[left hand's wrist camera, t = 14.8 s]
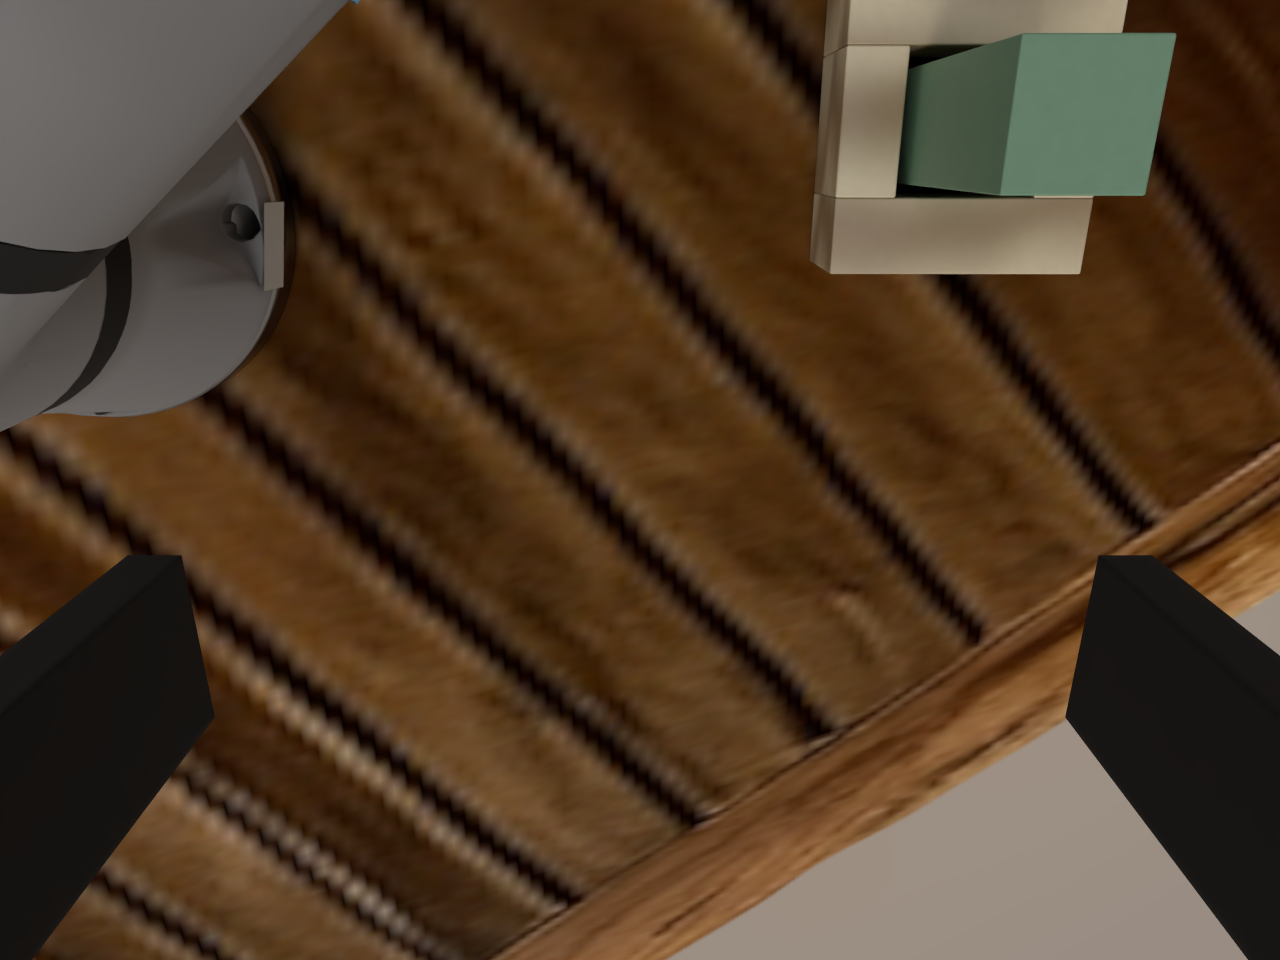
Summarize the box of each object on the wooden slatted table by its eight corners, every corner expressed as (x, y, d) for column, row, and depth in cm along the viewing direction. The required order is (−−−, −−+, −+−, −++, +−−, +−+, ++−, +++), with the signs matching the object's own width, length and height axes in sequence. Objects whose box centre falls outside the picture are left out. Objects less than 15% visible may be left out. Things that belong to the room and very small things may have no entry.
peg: (881, 181, 34) (999, 195, 23) (890, 74, 33) (1023, 32, 21) (978, 181, 34) (1145, 195, 23) (992, 74, 32) (1177, 32, 21)
